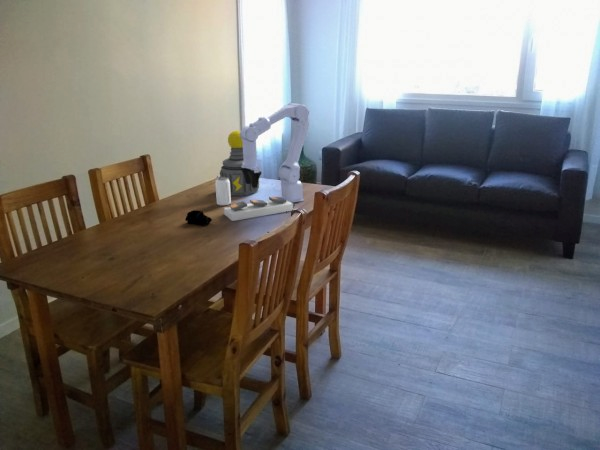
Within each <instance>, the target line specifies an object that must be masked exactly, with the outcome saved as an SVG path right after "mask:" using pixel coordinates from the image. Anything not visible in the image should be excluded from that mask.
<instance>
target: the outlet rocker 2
mask: <svg viewBox="0 0 600 450" xmlns="http://www.w3.org/2000/svg"><path fill="white" fill-rule="evenodd" d="M265 201H266V200H262V199H259V200H258V199H250V200H249V204H250V203H252V204H253V205H267V203H266V202H265Z"/></svg>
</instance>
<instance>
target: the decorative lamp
mask: <svg viewBox="0 0 600 450" xmlns="http://www.w3.org/2000/svg"><path fill="white" fill-rule="evenodd" d="M240 132H241V130H233V131H231V132H230V133H229V134H228V137H227V143H228V146H229V147H230V151H229V154H230V155H229V157H228V158H226V159H224V160H222V166H220V172H219V177H228V179H229V181H230V194H231V196H233V197H243V196H250V195H253V194H256V193H257V192H258V191H259V188H260V180H259V181H258V186H257V187H256V188H252V185H251V184H246V182H245V178H244V175H243V173H242V171H241V168H242V167H241V166H242V165H243V162H244V158H243V141H242V138H241V137H240V134H239V133H240Z"/></svg>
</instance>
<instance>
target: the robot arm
mask: <svg viewBox="0 0 600 450" xmlns="http://www.w3.org/2000/svg"><path fill="white" fill-rule="evenodd" d="M309 114H310V110H309V108H308V107H307V105H305V104H303V103H301V104H300V103H294V102H289V103H287V104H285V105H283V106H282V107H281V108H280V109H278V110H277V111H275V112H273V114H271V115H270V116H268V117H264V116H263V117H258V119H257V120H256V121H253V123H252V122H251V123H249V124H248V125H246V126H243V127H242V128H241V130H240V131H241V132H240V133H239V134H240V137H241V138H242V141H243V158H244V162H243V165H242V166H241V167H242V168H241V171H242V173H243V175H244V178H245V182H246V184H251V185H252V188H256V187H257V186H258V181H259V182H260V177H261V175H262V171H260V168H259V166H258V158H257V157H258V155H257V153H258V151H257V140H258V138H259V136H261V135H262V134H264V133H265V132H268V131H269V130H270V129H271V127H272V125H273V124H276V123H278V122H280V121H282V120H283V119H285V118H289V119H291V120H292V122H293V124H294V125H295V128H294V131H293V135H292V138H291V142H290V146H289V150H288V152H287V156H286V158H285V160H284V161H283V162H281V163H282V164H281V166H280V167H279V169H278V172H277V175H278V178H279V179H280V188H281V189H280V190H281V192H280V193H281V194H280V195H281V197H282V198H284V199H285V200H287V201H289V202H291V203H292V204H293V203H297V202H298V203H299V202H303V201H304V200H305V199H304V189H303V188H304V187H303V184H302V182H301V180H299V179H300V178H301V177H300V170H301V167H300V165H299V161H300V156H301V153H302V149H303V147H304V143H305V140H306V137H307V132H308V129H309V125H310V123H309V121H310V120H309Z"/></svg>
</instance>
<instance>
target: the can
mask: <svg viewBox="0 0 600 450" xmlns="http://www.w3.org/2000/svg"><path fill="white" fill-rule="evenodd" d="M214 183H215V195H216V204H217V205H218V206H221V207H222V206H223V207H225V206H230V205H231V204H232V198H231V194H230V181H229V179H228V177H220V176H218V177H216V178H215V181H214Z"/></svg>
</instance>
